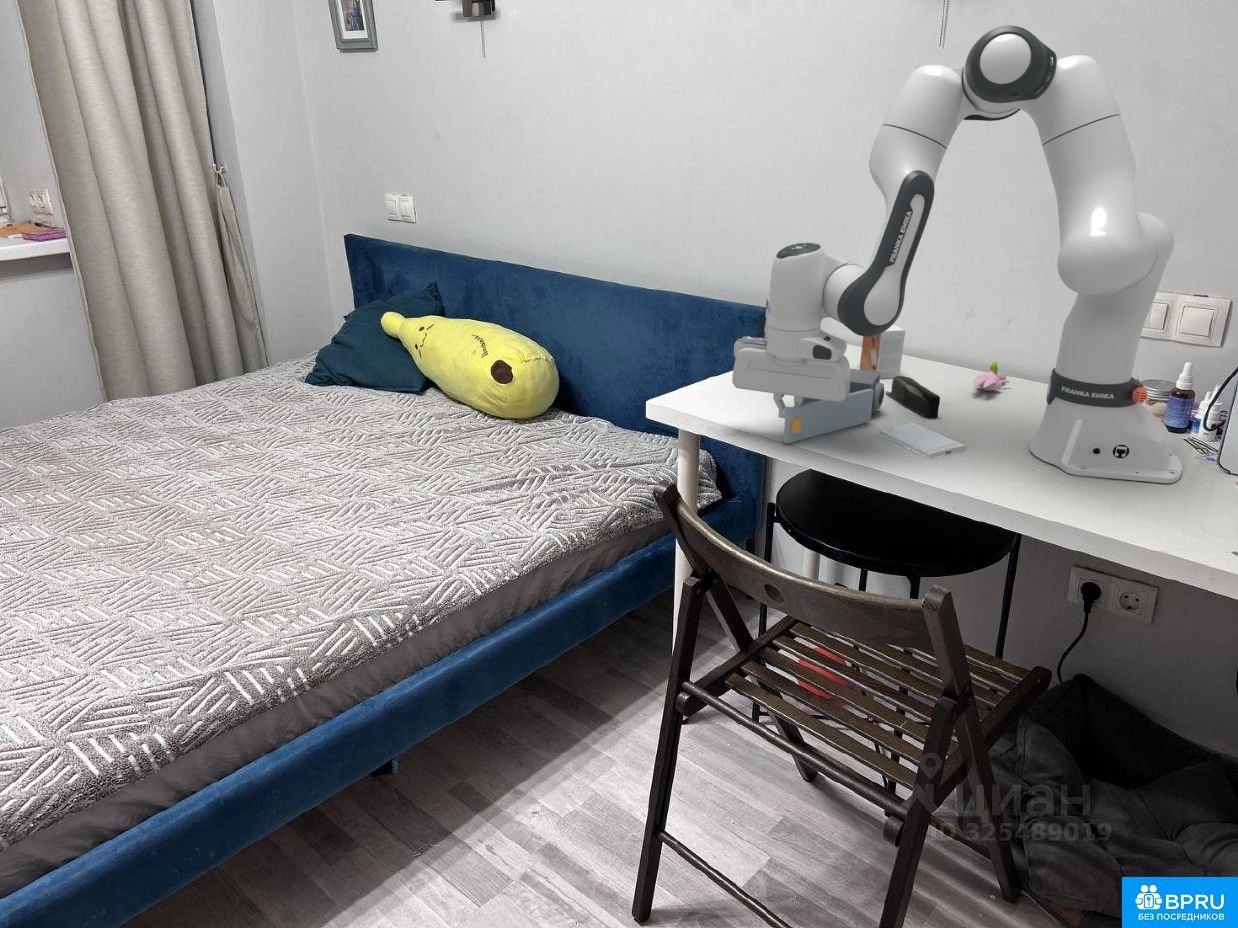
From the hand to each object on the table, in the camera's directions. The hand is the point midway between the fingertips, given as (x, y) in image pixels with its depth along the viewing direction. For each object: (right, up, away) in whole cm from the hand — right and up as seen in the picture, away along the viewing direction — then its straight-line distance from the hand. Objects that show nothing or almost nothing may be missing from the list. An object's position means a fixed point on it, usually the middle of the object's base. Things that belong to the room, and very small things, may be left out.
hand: (787, 417), depth 159 cm
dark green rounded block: (+27, +3, +16) cm, 31 cm away
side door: (+8, -2, +2) cm, 9 cm away
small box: (+26, +11, +35) cm, 45 cm away
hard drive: (+23, -5, -1) cm, 24 cm away
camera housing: (+12, +3, +15) cm, 19 cm away
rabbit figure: (+45, +7, +24) cm, 52 cm away
